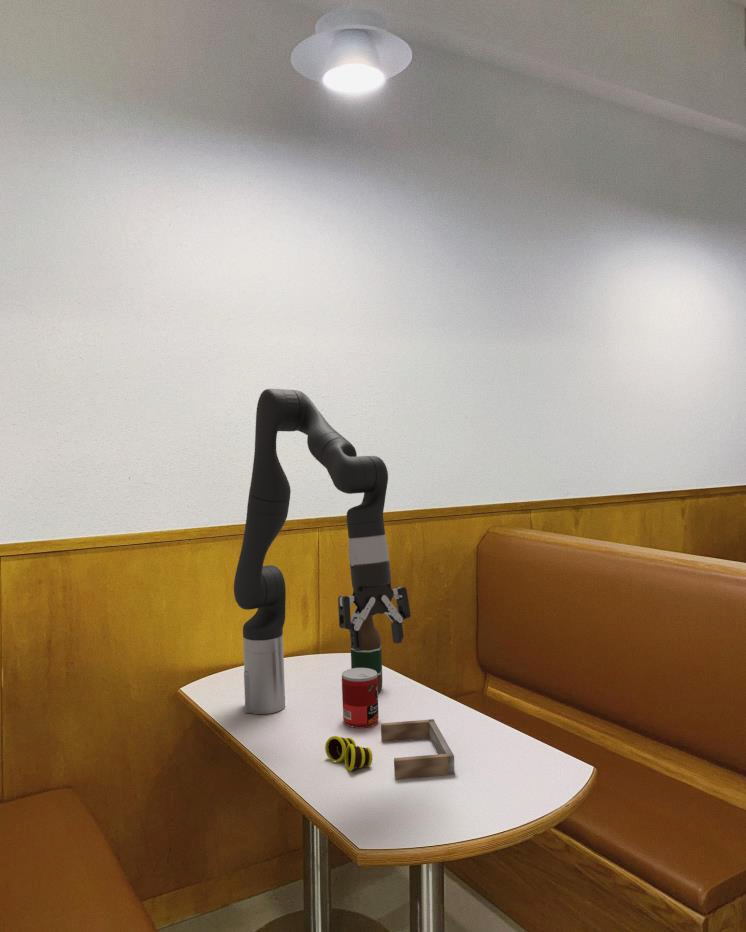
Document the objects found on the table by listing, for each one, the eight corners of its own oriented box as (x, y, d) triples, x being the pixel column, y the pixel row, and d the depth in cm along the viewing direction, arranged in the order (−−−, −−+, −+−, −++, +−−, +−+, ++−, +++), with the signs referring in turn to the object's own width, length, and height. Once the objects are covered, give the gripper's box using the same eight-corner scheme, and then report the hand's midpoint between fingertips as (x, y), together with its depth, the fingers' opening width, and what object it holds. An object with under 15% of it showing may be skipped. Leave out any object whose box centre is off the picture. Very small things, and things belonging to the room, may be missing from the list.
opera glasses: (373, 773, 150) (376, 746, 151) (350, 775, 147) (354, 748, 148) (344, 756, 158) (348, 731, 159) (322, 758, 155) (326, 733, 155)
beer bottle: (388, 687, 195) (386, 592, 194) (372, 697, 189) (369, 599, 187) (362, 682, 199) (360, 589, 198) (345, 692, 193) (342, 595, 192)
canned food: (375, 729, 169) (373, 679, 169) (339, 727, 171) (337, 677, 170) (381, 716, 177) (380, 668, 176) (347, 714, 178) (345, 666, 178)
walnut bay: (395, 779, 145) (395, 760, 145) (381, 739, 163) (380, 723, 163) (454, 774, 147) (454, 755, 147) (433, 735, 165) (433, 719, 165)
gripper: (391, 556, 155) (399, 639, 154) (327, 565, 148) (335, 651, 147) (411, 556, 149) (420, 642, 148) (345, 564, 142) (354, 655, 141)
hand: (378, 646), depth 147 cm, fingers open, 8 cm apart
